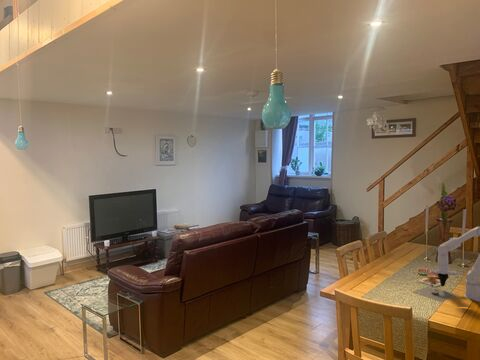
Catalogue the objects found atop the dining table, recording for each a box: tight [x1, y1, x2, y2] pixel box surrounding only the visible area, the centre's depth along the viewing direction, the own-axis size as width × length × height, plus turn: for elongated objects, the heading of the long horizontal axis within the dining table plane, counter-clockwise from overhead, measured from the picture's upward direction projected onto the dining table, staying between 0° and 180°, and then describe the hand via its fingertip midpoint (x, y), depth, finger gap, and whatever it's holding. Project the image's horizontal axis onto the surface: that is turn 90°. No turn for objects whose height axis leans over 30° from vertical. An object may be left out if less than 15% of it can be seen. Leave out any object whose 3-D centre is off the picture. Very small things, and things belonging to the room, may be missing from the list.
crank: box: [429, 281, 439, 295], centre depth 221 cm, size 10×4×5 cm, turn 167°
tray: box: [418, 277, 441, 288], centre depth 236 cm, size 11×11×2 cm
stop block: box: [427, 274, 437, 285], centre depth 235 cm, size 4×4×5 cm
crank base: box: [412, 285, 458, 303], centre depth 218 cm, size 18×18×1 cm
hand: (442, 285), depth 223 cm, fingers closed
